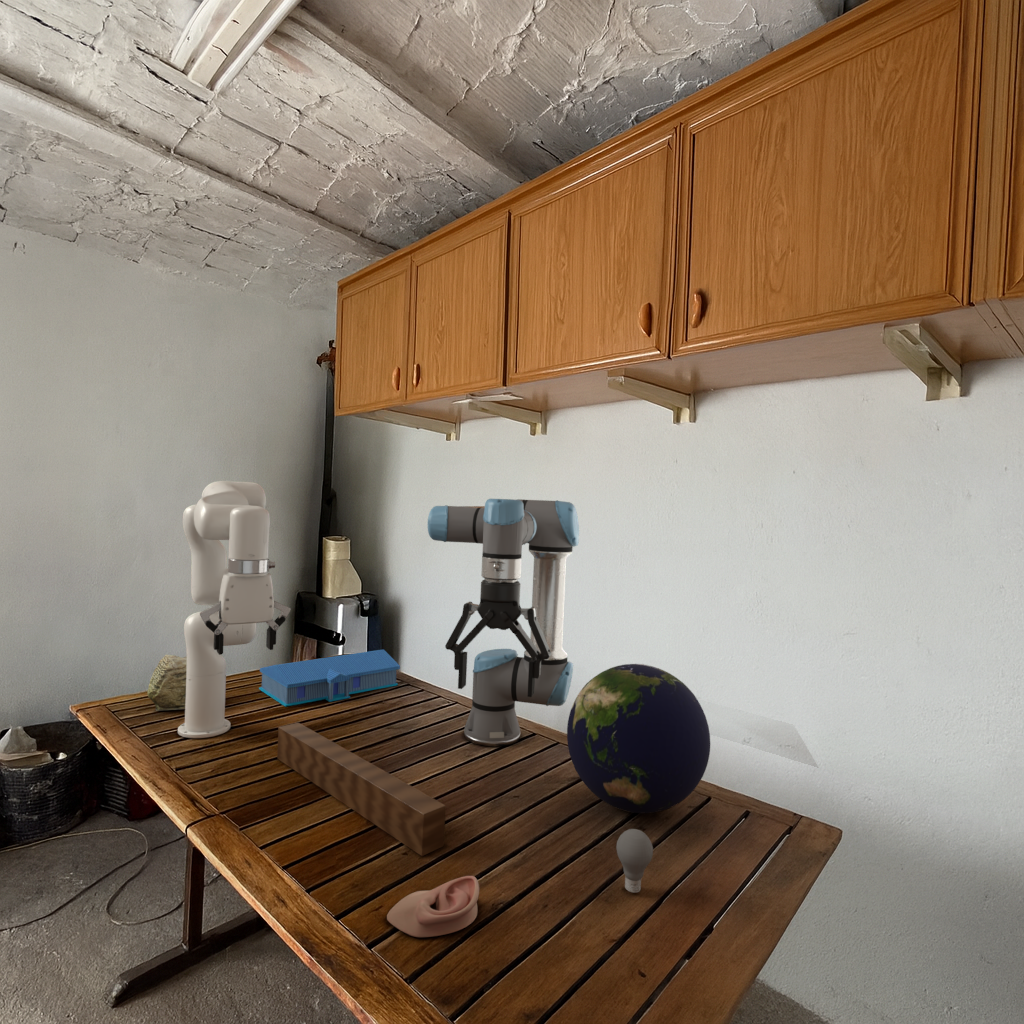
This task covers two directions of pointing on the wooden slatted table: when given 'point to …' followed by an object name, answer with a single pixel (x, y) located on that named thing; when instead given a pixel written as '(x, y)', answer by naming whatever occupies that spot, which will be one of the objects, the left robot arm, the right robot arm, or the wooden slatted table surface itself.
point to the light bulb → (634, 857)
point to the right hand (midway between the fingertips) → (496, 691)
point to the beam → (364, 788)
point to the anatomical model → (437, 909)
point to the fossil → (169, 683)
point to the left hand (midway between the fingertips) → (245, 650)
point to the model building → (329, 677)
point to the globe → (638, 738)
